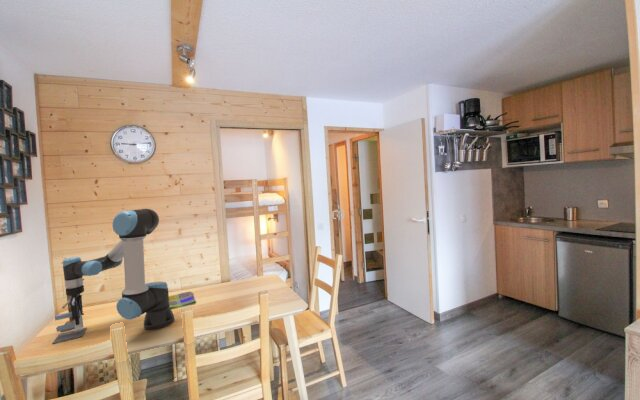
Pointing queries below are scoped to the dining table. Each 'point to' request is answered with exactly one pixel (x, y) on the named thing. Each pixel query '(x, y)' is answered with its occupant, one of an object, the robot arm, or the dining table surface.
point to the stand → (69, 311)
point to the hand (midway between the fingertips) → (79, 329)
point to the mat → (69, 335)
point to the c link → (66, 326)
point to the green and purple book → (181, 300)
